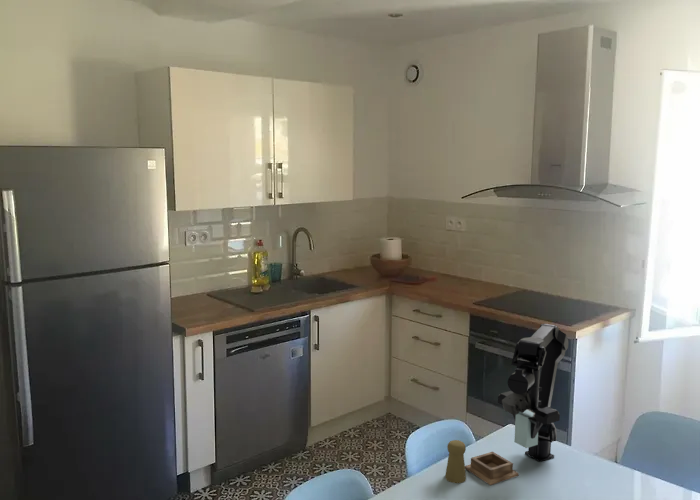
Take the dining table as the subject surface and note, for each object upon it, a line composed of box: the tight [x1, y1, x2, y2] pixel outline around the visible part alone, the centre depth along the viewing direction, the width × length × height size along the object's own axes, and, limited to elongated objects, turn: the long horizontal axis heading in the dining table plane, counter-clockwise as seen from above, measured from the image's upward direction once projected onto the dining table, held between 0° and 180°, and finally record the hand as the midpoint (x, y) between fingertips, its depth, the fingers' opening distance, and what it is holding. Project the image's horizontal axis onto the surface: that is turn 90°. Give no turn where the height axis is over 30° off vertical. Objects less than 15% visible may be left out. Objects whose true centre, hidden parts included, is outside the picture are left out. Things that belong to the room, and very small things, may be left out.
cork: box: [444, 439, 467, 484], centre depth 176 cm, size 6×6×11 cm
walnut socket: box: [465, 451, 519, 486], centre depth 180 cm, size 11×11×4 cm
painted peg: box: [514, 410, 538, 449], centre depth 176 cm, size 5×5×9 cm
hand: (526, 435), depth 176 cm, fingers closed on painted peg, 5 cm apart
